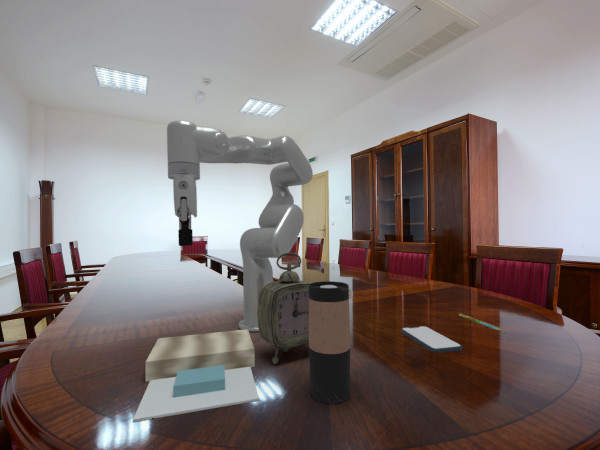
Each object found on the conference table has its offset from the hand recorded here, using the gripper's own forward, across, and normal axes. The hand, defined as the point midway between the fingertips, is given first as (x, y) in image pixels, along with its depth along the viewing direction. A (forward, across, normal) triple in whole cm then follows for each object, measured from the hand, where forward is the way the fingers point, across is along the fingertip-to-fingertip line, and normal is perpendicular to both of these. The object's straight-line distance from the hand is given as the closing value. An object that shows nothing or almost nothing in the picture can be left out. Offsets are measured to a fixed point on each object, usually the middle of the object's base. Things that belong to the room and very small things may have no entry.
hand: (185, 245), depth 73 cm
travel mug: (+27, -29, -26) cm, 47 cm away
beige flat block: (+27, -6, -4) cm, 28 cm away
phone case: (+29, -14, -62) cm, 70 cm away
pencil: (+29, -7, -89) cm, 94 cm away
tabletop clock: (+28, -10, -24) cm, 38 cm away
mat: (+27, -20, -3) cm, 33 cm away
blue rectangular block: (+24, -18, -3) cm, 31 cm away
